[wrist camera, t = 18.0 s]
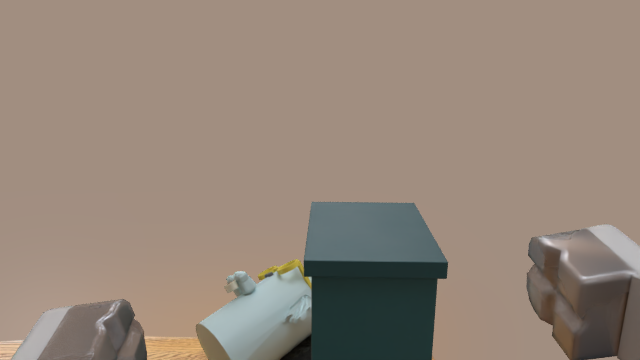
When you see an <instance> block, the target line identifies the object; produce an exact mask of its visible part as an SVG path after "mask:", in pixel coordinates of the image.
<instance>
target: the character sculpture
mask: <svg viewBox="0 0 640 360" xmlns="http://www.w3.org/2000/svg"><path fill="white" fill-rule="evenodd" d="M234 274H235V275H233V276H228V278H227V279H226V280H227V281H228V282H227V283H228V284H227V285H226V286H225V289H226V291H227V293H229V292H231V291H234V293H235V294H236V296H238V297H237V298H235V299H234V300H232V301H231V302H230V303H228V304H226V305H225V306H224V307H222V308H221V309H219V310H218V311H216V312H215V313H213V314H212V315H210V316H209V317H207V318H206V319H204V320H203V321H201V322H200V323H198V324H197V325H196V332H197V336H198V339H199V341H200V344H201V346H202V348H203V350H204V352H205V354H206V356H207V357H208V359H209V360H280V359H281V358H282V357H283V356H285V355H286V354H287V353H288V352H290V351H291V350H292V349H293V348H294V347H296V346H297V345H298V344H299V343H301V342H302V341H303V340H304V339H306V338H307V337H308V336H309V335H311V277H304V268H303V266H302V264H301V262H300V261H298V259H296V260H293V261H290V262H288V263H286V264H284V265H283V266H280V267H277V266H273V267H271V268H269V269H267V270H265V271H263V272H262V273H260V274H259V275H258V278H259V280H262V279H264V280H262V281H261V282H259V283H258V284H256V283H255V282H254V281H253V280H252V279H251V277H250V276H248V275H247V273H246V272H244V271H242V272H235V273H234Z"/></svg>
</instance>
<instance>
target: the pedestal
mask: <svg viewBox="0 0 640 360" xmlns="http://www.w3.org/2000/svg"><path fill="white" fill-rule="evenodd" d="M447 268H448V262H447V260H446V258H445V256H444V255H443V253H442V251H441V249H440V248H439V246H438V244H437V242H436V241H435V239H434V237H433V236H432V234H431V232H430V230H429V228H428V227H427V225H426V223H425V221H424V220H423V218H422V216H421V214H420V213H419V211H418V209H417V207H416V206H415V204H414V203H358V202H353V203H352V202H312V204H311V211H310V219H309V226H308V233H307V241H306V248H305V256H304V277H311V360H432V346H433V332H434V319H435V306H436V305H435V304H436V291H437V279H446V278H447Z"/></svg>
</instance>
